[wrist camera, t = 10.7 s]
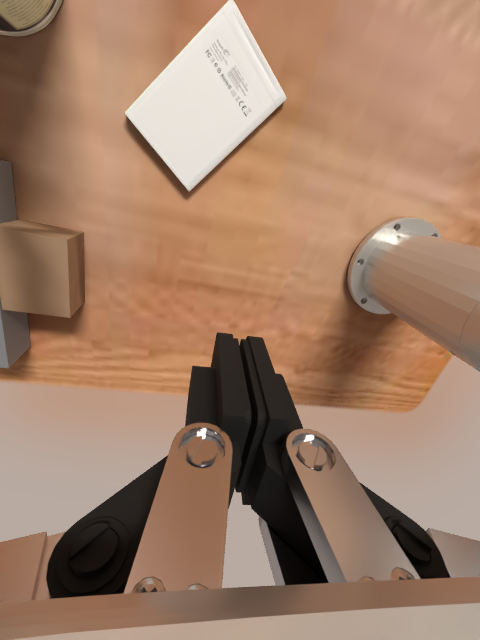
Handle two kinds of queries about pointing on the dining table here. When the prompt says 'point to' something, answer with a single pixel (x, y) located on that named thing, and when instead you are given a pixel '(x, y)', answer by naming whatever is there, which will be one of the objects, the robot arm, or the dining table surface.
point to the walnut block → (41, 268)
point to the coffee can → (26, 16)
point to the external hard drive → (207, 98)
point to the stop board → (3, 325)
